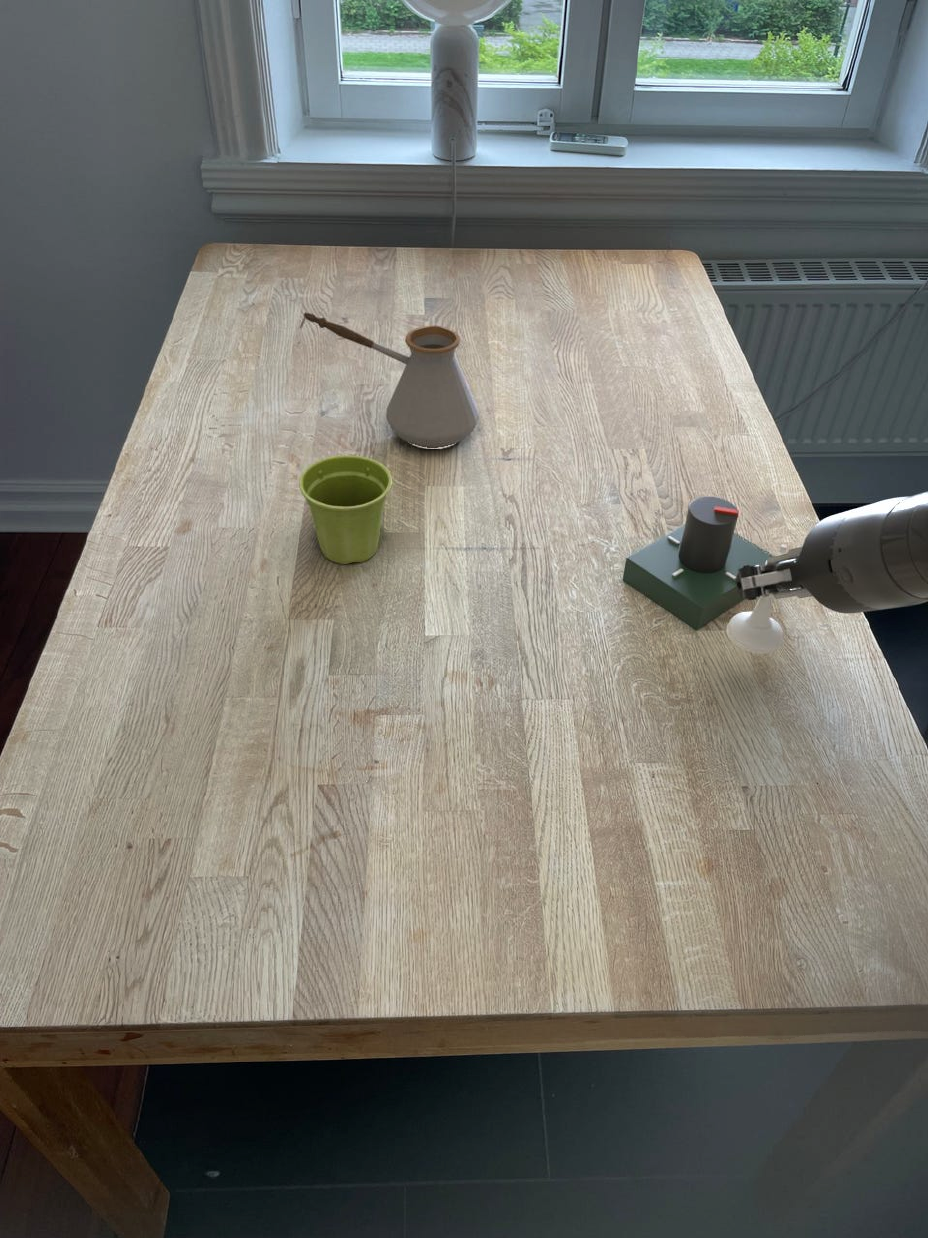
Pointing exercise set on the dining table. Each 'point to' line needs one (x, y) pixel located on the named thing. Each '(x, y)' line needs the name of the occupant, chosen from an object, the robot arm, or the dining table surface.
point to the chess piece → (757, 626)
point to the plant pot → (346, 505)
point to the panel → (689, 578)
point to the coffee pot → (424, 386)
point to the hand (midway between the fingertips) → (755, 582)
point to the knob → (708, 534)
